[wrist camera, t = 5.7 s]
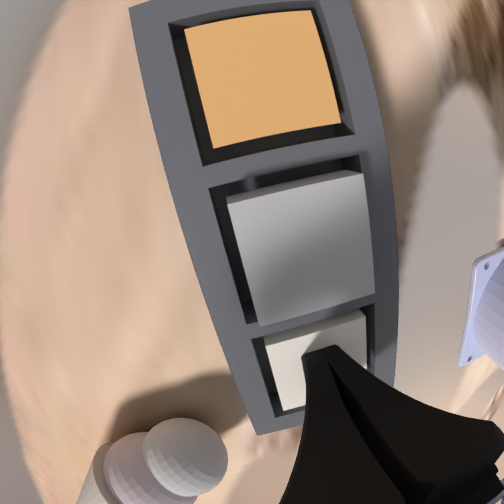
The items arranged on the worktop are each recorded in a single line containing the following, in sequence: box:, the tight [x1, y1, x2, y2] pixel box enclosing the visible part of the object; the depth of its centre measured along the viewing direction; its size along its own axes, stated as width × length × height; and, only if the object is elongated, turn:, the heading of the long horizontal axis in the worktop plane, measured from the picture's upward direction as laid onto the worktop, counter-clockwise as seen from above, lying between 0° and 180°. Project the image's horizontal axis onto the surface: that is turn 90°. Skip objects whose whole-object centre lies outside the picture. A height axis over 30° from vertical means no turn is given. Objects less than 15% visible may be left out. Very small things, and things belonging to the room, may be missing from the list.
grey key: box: [226, 170, 375, 327], centre depth 9 cm, size 4×4×1 cm
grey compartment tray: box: [129, 0, 399, 435], centre depth 10 cm, size 6×16×3 cm, turn 13°
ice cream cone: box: [76, 418, 228, 504], centre depth 13 cm, size 6×6×15 cm
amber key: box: [184, 10, 341, 149], centre depth 8 cm, size 4×4×1 cm
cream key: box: [263, 308, 367, 411], centre depth 11 cm, size 4×4×1 cm
